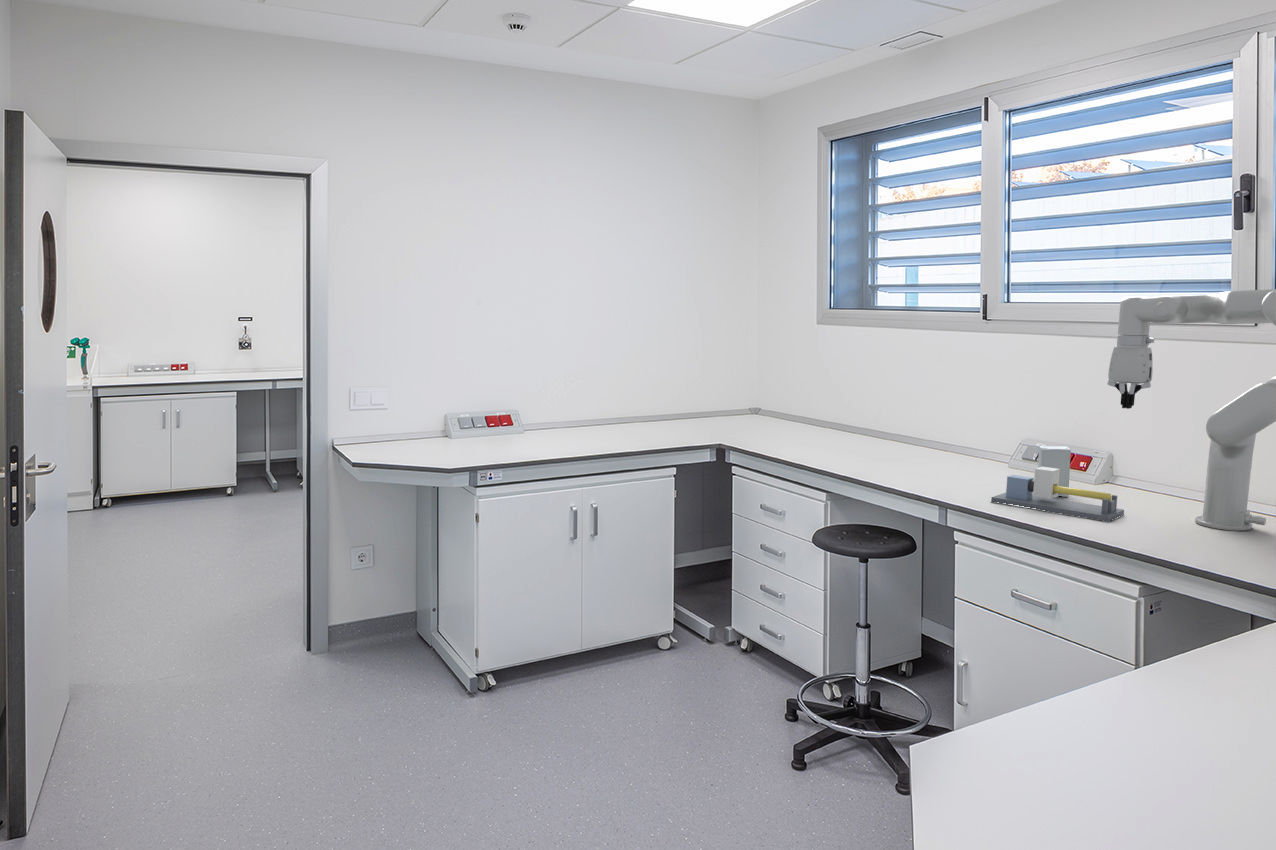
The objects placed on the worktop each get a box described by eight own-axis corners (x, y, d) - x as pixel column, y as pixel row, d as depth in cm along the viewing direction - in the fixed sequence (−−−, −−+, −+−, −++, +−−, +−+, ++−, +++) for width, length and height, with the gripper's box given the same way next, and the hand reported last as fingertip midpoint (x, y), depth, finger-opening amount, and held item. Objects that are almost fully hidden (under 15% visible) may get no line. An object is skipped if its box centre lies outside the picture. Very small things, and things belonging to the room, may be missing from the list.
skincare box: (1064, 493, 273) (1068, 446, 271) (1068, 498, 267) (1072, 449, 265) (1035, 492, 275) (1038, 444, 273) (1038, 496, 269) (1042, 447, 267)
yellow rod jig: (1123, 514, 245) (1126, 488, 244) (1108, 522, 237) (1110, 494, 236) (1008, 496, 268) (1010, 471, 267) (991, 502, 260) (992, 477, 259)
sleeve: (1057, 496, 254) (1059, 468, 253) (1050, 499, 251) (1053, 471, 250) (1040, 493, 258) (1042, 466, 257) (1033, 496, 254) (1034, 468, 253)
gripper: (1167, 342, 242) (1161, 409, 244) (1108, 340, 253) (1103, 404, 255) (1158, 343, 237) (1152, 411, 239) (1098, 341, 247) (1093, 406, 250)
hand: (1126, 407), depth 247 cm, fingers closed
